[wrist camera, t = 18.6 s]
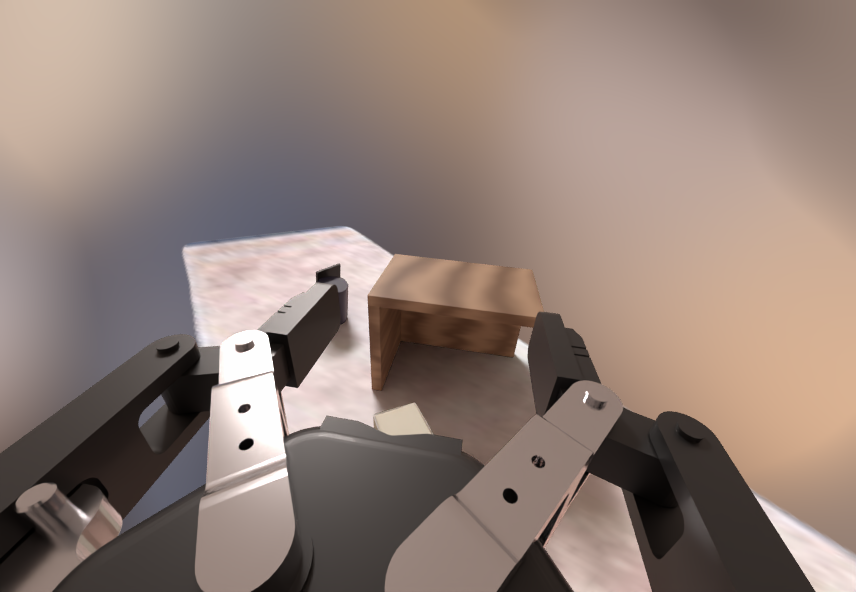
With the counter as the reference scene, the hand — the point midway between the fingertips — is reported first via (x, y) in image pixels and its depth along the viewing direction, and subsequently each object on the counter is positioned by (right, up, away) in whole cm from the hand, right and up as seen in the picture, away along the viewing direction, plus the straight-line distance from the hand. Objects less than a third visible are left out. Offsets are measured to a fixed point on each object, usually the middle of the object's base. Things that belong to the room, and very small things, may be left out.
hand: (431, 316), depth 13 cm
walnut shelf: (+3, -11, +41) cm, 42 cm away
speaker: (-19, -4, +52) cm, 56 cm away
